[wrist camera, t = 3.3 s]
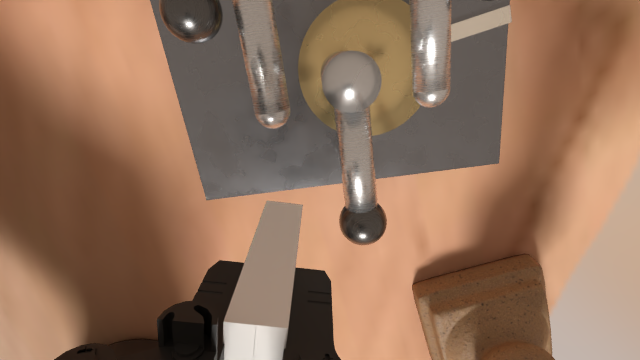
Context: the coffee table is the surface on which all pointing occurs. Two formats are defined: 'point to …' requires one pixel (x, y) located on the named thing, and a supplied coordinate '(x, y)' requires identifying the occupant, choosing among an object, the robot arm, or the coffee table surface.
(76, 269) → the coffee table surface
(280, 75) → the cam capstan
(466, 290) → the candle holder
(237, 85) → the stand
